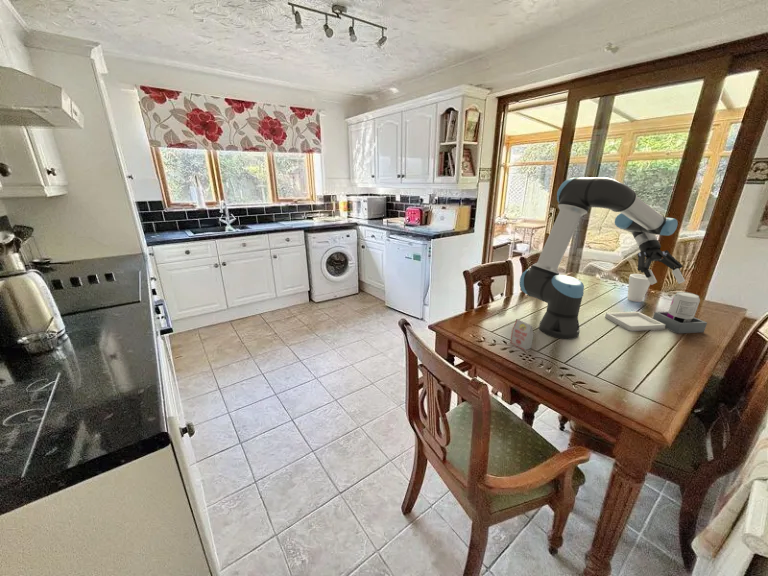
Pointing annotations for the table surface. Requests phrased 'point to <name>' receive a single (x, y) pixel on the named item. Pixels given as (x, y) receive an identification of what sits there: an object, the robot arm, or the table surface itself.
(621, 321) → the tray
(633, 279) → the foam cup
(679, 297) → the supplement can
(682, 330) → the grey open square box
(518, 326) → the white paper packet
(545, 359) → the table surface
